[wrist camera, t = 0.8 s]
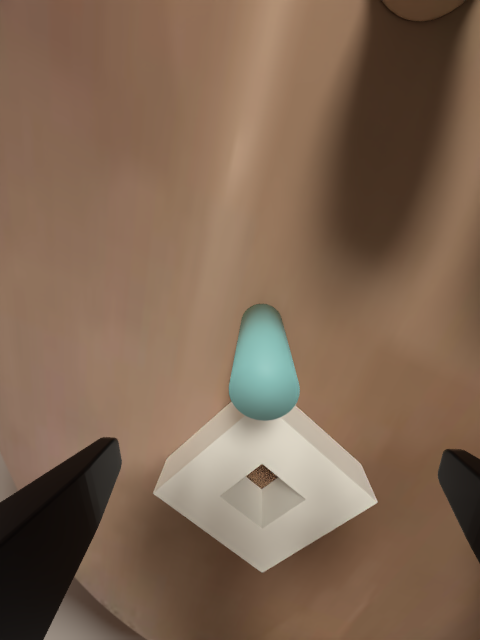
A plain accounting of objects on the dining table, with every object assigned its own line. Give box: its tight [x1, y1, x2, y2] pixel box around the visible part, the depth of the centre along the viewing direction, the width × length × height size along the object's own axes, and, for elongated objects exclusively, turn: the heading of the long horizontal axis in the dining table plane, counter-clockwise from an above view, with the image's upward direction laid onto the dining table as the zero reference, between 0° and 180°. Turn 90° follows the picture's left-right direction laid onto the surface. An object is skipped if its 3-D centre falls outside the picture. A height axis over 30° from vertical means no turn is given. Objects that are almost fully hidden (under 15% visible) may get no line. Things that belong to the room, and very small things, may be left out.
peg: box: [229, 304, 300, 421], centre depth 16 cm, size 3×3×9 cm
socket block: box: [153, 401, 378, 573], centre depth 22 cm, size 12×12×4 cm
